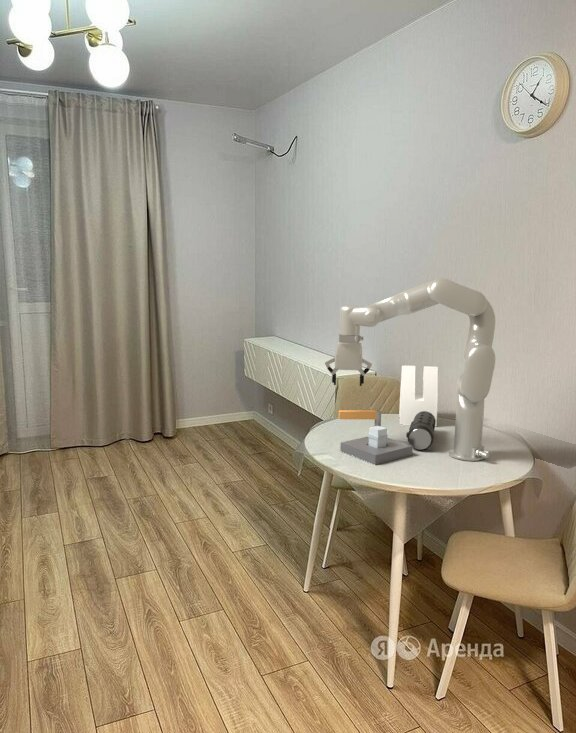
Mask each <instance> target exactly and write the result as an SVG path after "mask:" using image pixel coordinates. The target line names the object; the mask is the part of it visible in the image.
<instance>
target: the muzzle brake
mask: <svg viewBox="0 0 576 733" xmlns="http://www.w3.org/2000/svg"><path fill="white" fill-rule="evenodd" d="M435 424H436V425H437V423H436V420H435V417H434V416H433V415H432V414H431V413H430V412H427V411H422V412H419V413H418V414H417V415H416V416H415V418H414V420H413V421H412V422H411V425H410V426H409V429H408V430H409V431H408V432H406V434H405V436H406V438H407V440H408V443H409V444H408V445H411V446H413V448H412V449H415V450H419V451H422V450H427V449H428V448H430V447H431V446H432V444H433V442H434V439H435V438H434V437H435V430H436V427H435Z"/></svg>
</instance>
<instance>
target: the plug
mask: <svg viewBox="0 0 576 733" xmlns="http://www.w3.org/2000/svg"><path fill="white" fill-rule="evenodd" d="M387 432H388V429H387V427H384V426H369V428H368V433H367V437H369V446H372V447H374V448H377V449H378V448H382V447H386V438H389V436H388V434H387Z"/></svg>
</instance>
